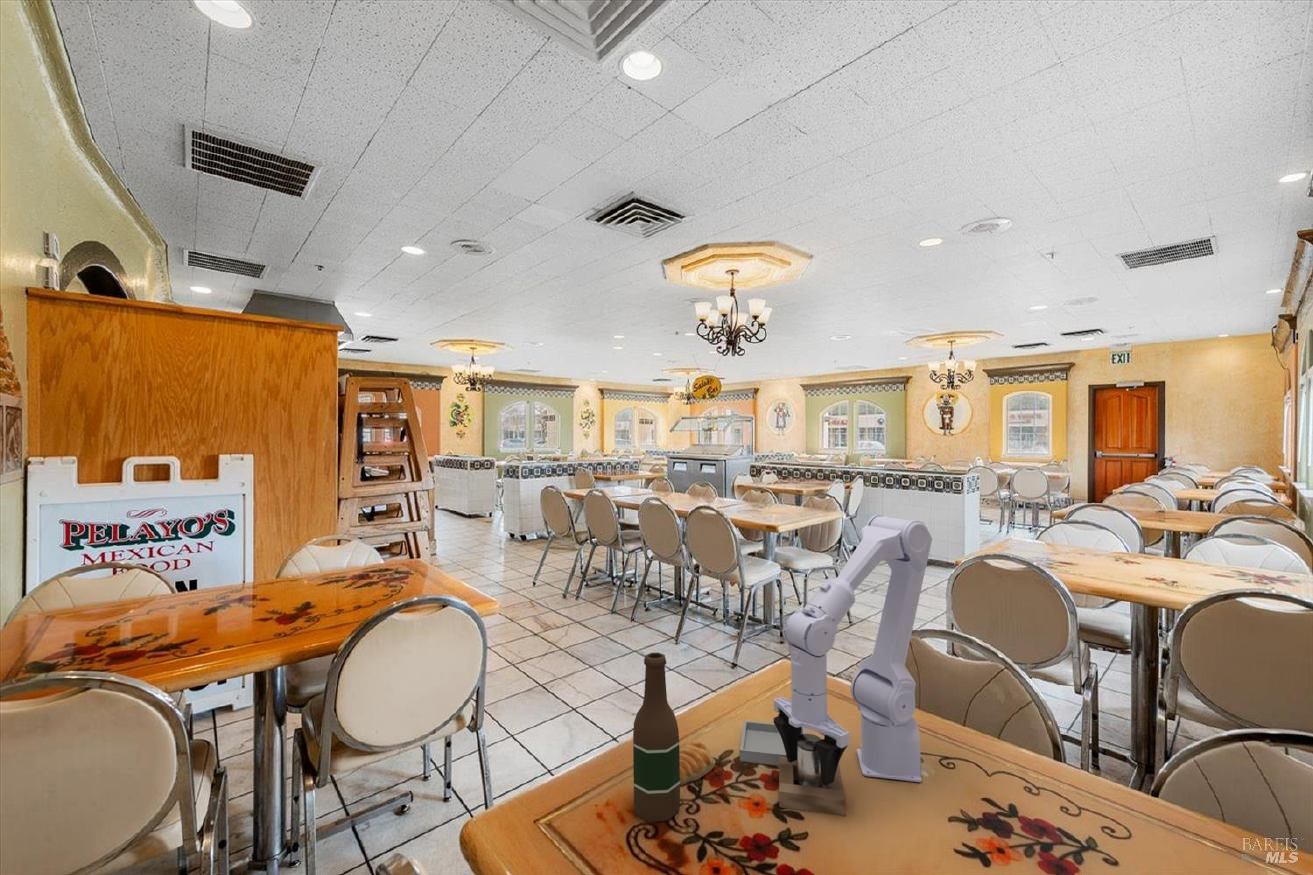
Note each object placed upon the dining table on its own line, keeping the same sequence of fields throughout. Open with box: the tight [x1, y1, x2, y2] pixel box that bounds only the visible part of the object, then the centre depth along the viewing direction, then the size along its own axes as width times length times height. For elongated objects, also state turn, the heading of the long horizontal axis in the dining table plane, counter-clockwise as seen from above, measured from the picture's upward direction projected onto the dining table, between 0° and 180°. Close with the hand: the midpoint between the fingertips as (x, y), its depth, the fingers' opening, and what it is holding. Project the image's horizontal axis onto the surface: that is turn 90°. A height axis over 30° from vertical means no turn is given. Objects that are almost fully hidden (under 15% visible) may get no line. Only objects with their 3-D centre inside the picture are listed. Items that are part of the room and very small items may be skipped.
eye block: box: [778, 756, 847, 817], centre depth 91 cm, size 10×10×2 cm
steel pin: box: [797, 733, 824, 788], centre depth 91 cm, size 4×4×8 cm
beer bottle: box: [632, 652, 681, 823], centre depth 87 cm, size 8×8×24 cm
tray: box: [739, 720, 807, 767], centre depth 104 cm, size 12×11×2 cm
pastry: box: [679, 741, 716, 786], centre depth 97 cm, size 9×7×4 cm
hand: (810, 770), depth 91 cm, fingers open, 7 cm apart
